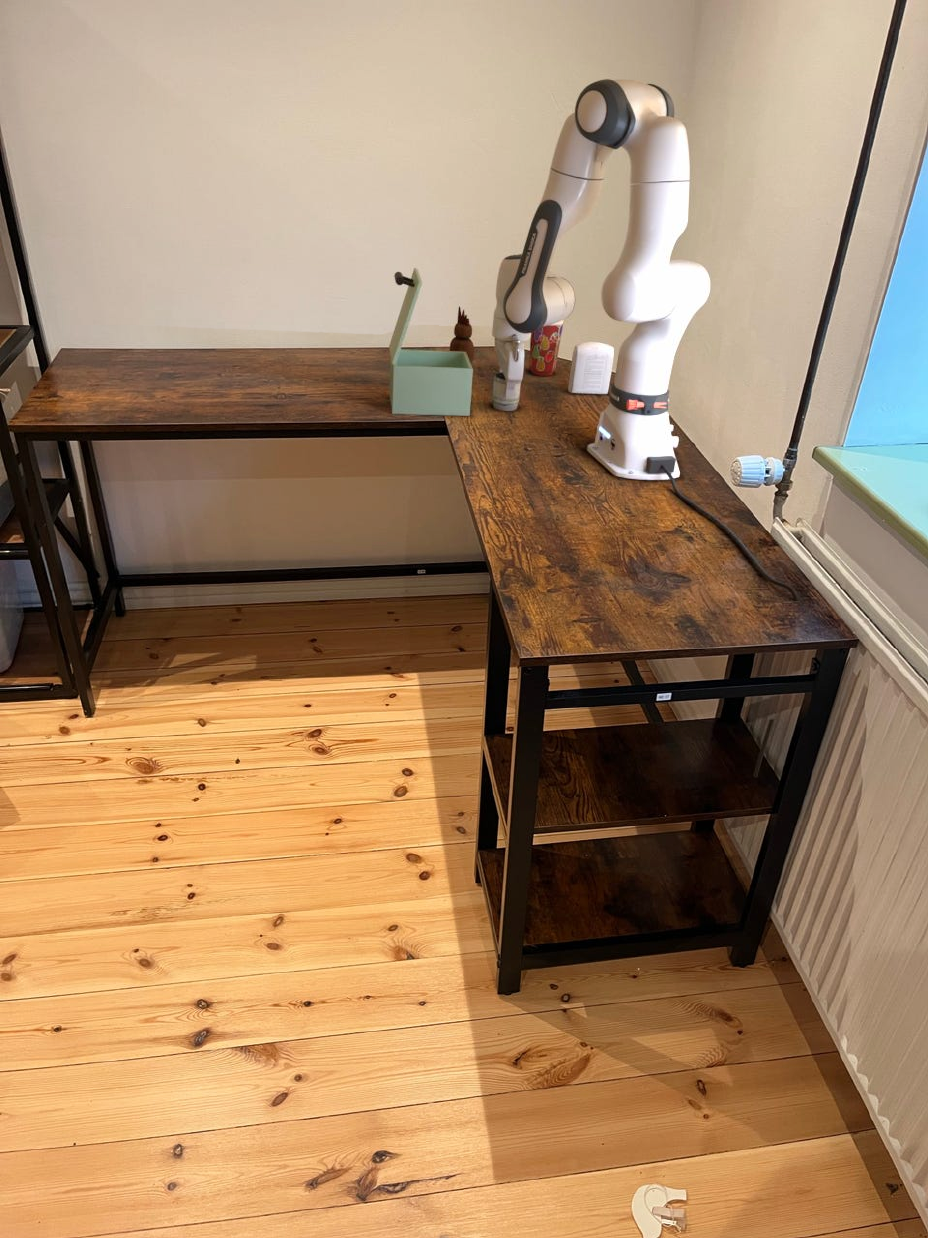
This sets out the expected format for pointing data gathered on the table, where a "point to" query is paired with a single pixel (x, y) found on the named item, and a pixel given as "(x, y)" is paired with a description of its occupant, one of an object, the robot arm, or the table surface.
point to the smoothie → (545, 348)
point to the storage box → (431, 383)
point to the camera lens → (499, 394)
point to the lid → (404, 311)
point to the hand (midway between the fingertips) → (505, 388)
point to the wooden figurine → (463, 336)
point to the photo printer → (591, 368)
